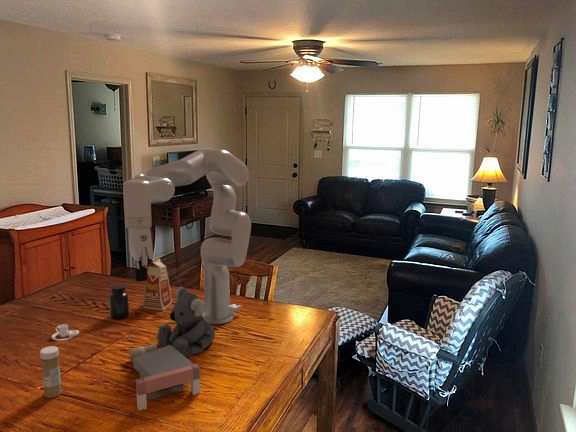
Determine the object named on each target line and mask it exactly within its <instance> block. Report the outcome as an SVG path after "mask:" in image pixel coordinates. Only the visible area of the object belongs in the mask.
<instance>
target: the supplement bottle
mask: <svg viewBox="0 0 576 432" xmlns="http://www.w3.org/2000/svg"><path fill="white" fill-rule="evenodd" d="M108 300H109V315H110V319H112V320H115V321H117V320H118V321H119V320H124V319H127V318H128V317H129V316H130V306H129V305H130V303H129V295H128V293H127V292H126V287H125V285H122V284H118V285H113V286H111V294H110V295H109V297H108Z"/></svg>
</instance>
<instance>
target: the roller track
mask: <svg viewBox="0 0 576 432" xmlns="http://www.w3.org/2000/svg"><path fill="white" fill-rule="evenodd" d="M157 349H158V346H157V343H151V344H148V345H144V346H139V347H135V348H134V347H133V348H131V349H129V350H128V354H129V355H128V356H129V361H130V363H131V364H133V358H134V357H137V356H140V355H143V354H145V353H148V352H151V351H154V350H157ZM134 369H135V368H134ZM135 371H136V372H138V371H137V370H136V369H135ZM138 373H139V372H138ZM139 377H140V378H139V379H141V378H144V377H143V376H142V375H141V374H140V373H139ZM184 385H185V384H184V383H182V384H179V385H175V386H172V387H168V388H165V389H161V390H158V391H154V392H151V393H147V400H148V401H150V400H154V399H158V398H161V397H164V396H168V395H171V394H175V393H177V392H182V391H184V390H185V386H184Z"/></svg>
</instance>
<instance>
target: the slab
mask: <svg viewBox="0 0 576 432" xmlns="http://www.w3.org/2000/svg"><path fill="white" fill-rule="evenodd" d="M132 364H133V368H134V369H136V370H137V371H136V370H135V371H136V372H138V373H140V374H141V375H142V376H143V377H144V378H145V377H149V376H152V375H156V374H160V373H164V372H167V371H171V370H175V369H179V368H183V367H186V366H190V365H194V364H195V363H193V362H192V361H191V360H190V359H188V357H185V356H183V355H182V354H181V353H180V352H179V351H177V350H176V349H175V348H174V347H172V346H171V345H168V346H163V347H159V348H157V350H154V351H151V352H148V353H145V354H143V355H140V356H137V357H134V358H133V363H132ZM140 374H139V375H140Z"/></svg>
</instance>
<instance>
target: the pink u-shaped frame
mask: <svg viewBox="0 0 576 432" xmlns="http://www.w3.org/2000/svg"><path fill="white" fill-rule="evenodd" d="M193 364H194V365H190V366H186V367H183V368H179V369H175V370H171V371H167V372H164V373H160V374H156V375H152V376H149V377H145V378H138V379H135V388H136V389H135V392H136V406H137V407H138V408H137V407H136V408H137V409H139V410H138V412H141V411H144V410H147V409H148V406H147V402H148V401H147V395H148V394H149V393H152V392H156V391H159V390H163V389H166V388H170V387H174V386H177V385H181V384H185V383H189V382H190V392H191V394H192V395H197V394H201V374H200V373H201V371H200V369H201V368H200V366H199V364H198V363H193ZM143 409H144V410H143ZM140 410H141V411H140Z"/></svg>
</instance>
